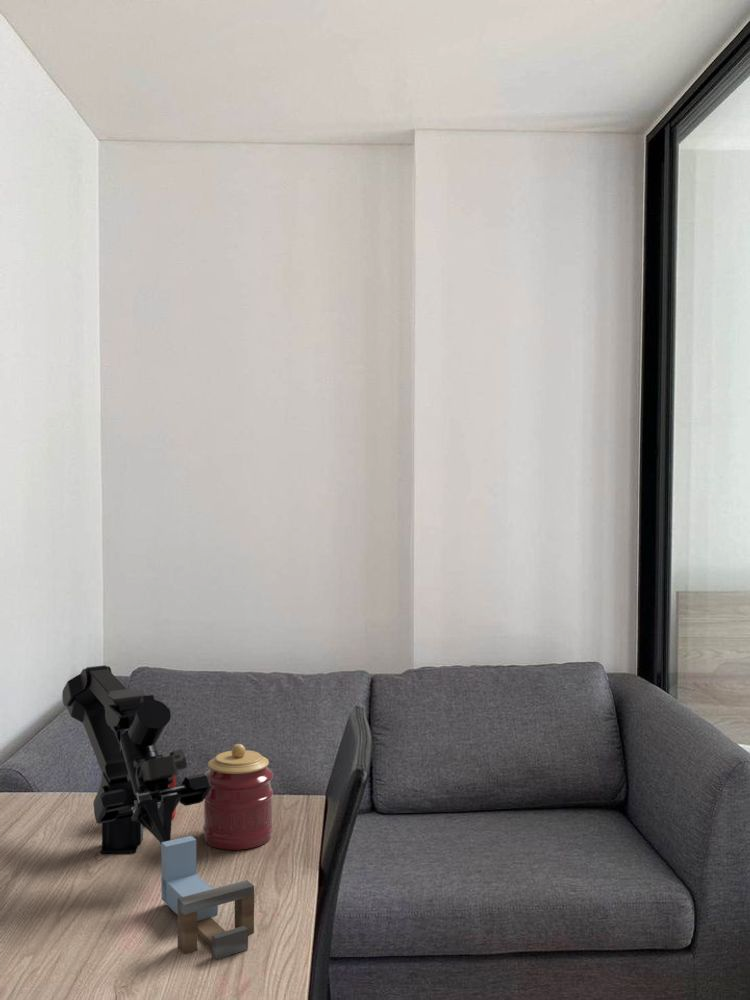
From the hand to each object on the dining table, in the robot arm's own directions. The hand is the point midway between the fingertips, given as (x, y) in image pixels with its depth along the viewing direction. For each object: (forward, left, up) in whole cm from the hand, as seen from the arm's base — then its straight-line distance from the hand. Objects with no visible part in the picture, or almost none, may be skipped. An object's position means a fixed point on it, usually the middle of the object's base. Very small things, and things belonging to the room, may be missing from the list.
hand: (167, 845), depth 151 cm
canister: (+10, +22, -8) cm, 26 cm away
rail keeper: (+7, -13, -8) cm, 17 cm away
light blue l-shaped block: (+4, -8, -7) cm, 11 cm away
